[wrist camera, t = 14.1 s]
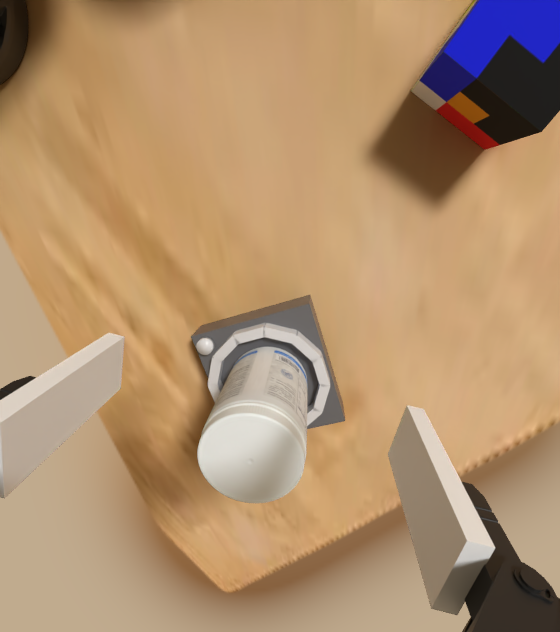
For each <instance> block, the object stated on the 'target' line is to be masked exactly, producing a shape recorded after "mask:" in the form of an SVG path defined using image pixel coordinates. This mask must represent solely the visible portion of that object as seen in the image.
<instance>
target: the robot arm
mask: <svg viewBox="0 0 560 632" xmlns="http://www.w3.org/2000/svg"><path fill="white" fill-rule="evenodd" d="M27 37H28V15H27V7H26V2H25V0H0V84H1V83H3V82H4V81H6V80H7V79H8V78H9V77H10V76H11V75H12V74H13V73H14V71H15V70H16V69H17V67H18V65H19V64H20V62H21V59H22V57H23V54H24V51H25V48H26V43H27ZM123 351H124V336H120V335H116V334H111V333H107V334H106V335H104V336H103V337H101V338H99V339H98V340H96V341H95V342H93V343H91V344H90V345H88V346H86V347H85V348H83V349H82V350H80V351H78V352H77V353H75V354H74V355H72V356H70V357H69V358H67V359H66V360H64V361H62V362H61V363H59V364H58V365H56V366H55V367H53V368H51V369H50V370H48V371H46V372H45V373H43V374H42V375H40V376H38V377H37V378H36V377H32V376H28V377H25V378H22V379H19V380H16V381H13V382H12V383H10V384H8V385H6V386H5V387H3V388H1V389H0V497H1V498H5V497H6V496H7V495H8V494H9V493H10V492H12V491H13V490H14V489H15V488H16V487H17V486H18V485H19V484H20V483H21V482H22V481H23V480H24V479H25V478H26V477H27V476H28V475H30V474H31V473H32V472H33V471H34V470H35V469H36V468H37V467H38V466H39V465H40V464H41V463H42V462H43V461H44V460H45V459H46V458H47V457H48V456H50V455H51V454H52V453H53V452H54V451H55V450H56V449H57V448H58V447H59V446H60V445H61V444H62V443H63V442H65V441H66V440H67V439H68V438H69V437H70V436H71V435H72V434H73V433H74V432H75V431H76V430H77V429H78V428H79V427H80V426H81V425H82V424H83V423H85V422H86V421H87V420H88V419H89V418H90V417H91V416H92V415H93V414H94V413H95V412H96V411H97V410H98V409H99V408H100V407H102V406H103V405H104V404H105V403H106V402H107V401H108V400H109V399H110V398H111V397H112V396H113V395H114V394H115V393H116V392H117V391H118V390H120V389H121V377H122V364H123ZM388 457H389V460H390V464H391V467H392V471H393V474H394V478H395V482H396V485H397V489H398V492H399V496H400V499H401V503H402V506H403V510H404V513H405V517H406V521H407V524H408V528H409V531H410V535H411V538H412V542H413V546H414V549H415V553H416V556H417V560H418V563H419V567H420V570H421V574H422V578H423V581H424V585H425V588H426V592H427V595H428V599H429V602H430V606H431V609H435V610H439V611H443V612H446V613H451V614H455V615H457V614H458V613H459V611H460V609H461V608H462V606H463V604H464V602H466V605H467V607H468V610H469V613H470V615H471V618H470V619H469V621H468V623H467V624H466V626H465V628H464V629H463V631H462V632H560V599H559V598H558V597H557V596H556V594H555V592H554V590H553V588H552V587H551V586H550V584H549V583H548V582H547V581H546V580H545V579H544V577H542V576H541V575H540V574H539V573H538V572H537V571H536V570H534V569H533V568H531V567H529V566H528V565H526V564H525V563H522V562H521V561H520V559H519V557H518V556H517V554H516V552H515V550H514V548H513V547H512V545H511V543H510V541H509V540H508V538H507V536H506V534H505V533H504V531H503V529H502V527H501V526H500V524H498V520H497V519H496V517H495V515H494V513H492V510H491V508H490V506H489V505H488V503H487V501H486V499H485V497H484V496H483V495H482V494H481V493H480V492H479V491H478V490H477V489H476V488H475V487H474V486H473V485H472V484H469V483H465V482H461V480H460V478H459V476H458V474H457V472H456V471H455V469H454V467H453V465H452V463H451V461H450V459H449V457H448V455H447V453H446V451H445V449H444V447H443V445H442V443H441V441H440V440H439V438H438V436H437V434H436V432H435V430H434V428H433V426H432V424H431V422H430V420H429V418H428V416H427V414H426V412H425V411H424V409H421V408H417V407H413V406H409V405H407V406H406V409H405V411H404V414H403V416H402V419H401V422H400V424H399V427H398V429H397V432H396V434H395V437H394V440H393V442H392V445H391V447H390V450H389V453H388Z"/></svg>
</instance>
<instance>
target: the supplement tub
mask: <svg viewBox="0 0 560 632" xmlns="http://www.w3.org/2000/svg"><path fill="white" fill-rule="evenodd" d="M307 391H308V383H307V376H306V372H305V370H304V368H303V366H302V365H301V363H300V362H299V361H298V359H297V358H296V357H294V356H293V355H292V354H290V353H289V352H287V351H285V350H282V349H280V348H276V347H259V348H255V349H253V350H250V351H248V352H246V353H245V354H243V355H242V356H241V357H240V358H239V359H238V360H237V361H236V362H235V364H234V366H233V368H232V369H231V372H230V374H229V376H228V378H227V380H226V382H225V384H224V386H223V388H222V390H221V392H220V394H219V396H218V399H217V401H216V403H215V405H214V407H213V409H212V411H211V413H210V415H209V417H208V419H207V422H206V424H205V426H204V428H203V431H202V434H201V438H200V441H199V444H198V450H197V458H198V464H199V467H200V470H201V472H202V474H203V475H204V477H205V478H206V480H207V481H208V482H209V483H210V484H211V485H212V486H213V487H214V488H215V489H216V490H217V491H219V492H220V493H222V494H223V495H225V496H227V497H229V498H231V499H234V500H237V501H241V502H246V503H265V502H270V501H274V500H276V499H279V498H281V497H283V496H285V495H286V494H288V493H289V492H290V491H291V490H292V489H293V488H294V487H295V486H296V485H297V484H298V482H299V480H300V479H301V476H302V474H303V470H304V463H305V459H306V444H307Z"/></svg>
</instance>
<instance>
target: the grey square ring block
mask: <svg viewBox="0 0 560 632" xmlns="http://www.w3.org/2000/svg"><path fill="white" fill-rule="evenodd" d="M191 338H192V340H193V343H194V345H195V348H196V350H197V352H198V355H199V357H200V360H201V362H202V365H203V367H204V369H205V372H206V374H207V377H208V388H209V390H210V392H211V395H212V397H213V400H214V402H215V403H216V401H217V399H218V396H219V394H220V392H221V390H222V388H223V386H224V384H225V382H226V380H227V378H228V376H229V374H230V372H231V369H232V368H233V366H234V364H235V362H236V361H237V360H238V359H239V358H240V357H241V356H242V355H243V354H245V353H246V352H248V351H250V350H253V349H255V348H259V347H276V348H280V349H282V350H285V351H287V352H289V353H290V354H292V355H293V356H294V357H296V358H297V359H298V361H299V362H300V363H301V365H302V366H303V368H304V370H305V372H306V376H307V383H308V391H307V429H309V428H314V427H319V426H323V425H328V424H333V423H338V422H342V421H345V415H344V407H343V402H342V399H341V395H340V392H339V389H338V385H337V382H336V379H335V376H334V372H333V369H332V366H331V362H330V359H329V356H328V352H327V349H326V346H325V343H324V339H323V336H322V333H321V329H320V326H319V323H318V319H317V316H316V313H315V309H314V306H313V303H312V300H311V296H310V295H308V296H304V297H301V298H297V299H293V300H290V301H286V302H283V303H279V304H276V305H272V306H269V307H265V308H262V309H258V310H255V311H251V312H248V313H244V314H241V315H237V316H234V317H230V318H227V319H223V320H219V321H216V322H212V323H209V324H205V325H202V326H200V327H199V329H198V330H197V331H196V332H195V333H194V334H193V335H192V336H191Z"/></svg>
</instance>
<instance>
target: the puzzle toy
mask: <svg viewBox="0 0 560 632" xmlns="http://www.w3.org/2000/svg"><path fill="white" fill-rule="evenodd" d="M411 92H413V93H414V94H415V95H416V96H418V97H419V98H420V99H421V100H423V101H424V102H425V103H426V104H428V105H429V106H430V107H431V108H433V109H434V110H435V111H437V112H438V113H439V114H440V115H442V116H443V117H444V118H445V119H447V120H448V121H449V122H450V123H452V124H453V125H454V126H455V127H457V128H458V129H459V130H460V131H462V132H463V133H464V134H465V135H467V136H468V137H469V138H471V139H472V140H473V141H474V142H476V143H477V144H478V145H479V146H481V147H482V148H483V149H484V150H485V149H489V148H492V147H495V146H498V145H501V144H504V143H508V142H511V141H514V140H517V139H520V138H523V137H526V136H530V135H533V134H536V133H539V132H542V131H543V129H544V128H545V127H546V126H547V125H548V124H549V122H550V121H551V120H552V119H553V118H554V117H555V115H556V114H557V113H558V112H559V111H560V0H474V1H473V2H472V4H471V5H470V6H469V8H468V9H467V11H466V12H465V14H464V15H463V16H462V18H461V19H460V21H459V22H458V24H457V25H456V26H455V28H454V29H453V31H452V32H451V34H450V35H449V36H448V38H447V39H446V41H445V42H444V44H443V45H442V46H441V48H440V49H439V51H438V52H437V54H436V55H435V56H434V58H433V59H432V61H431V62H430V64H429V65H428V66H427V68H426V69H425V71H424V72H423V74H422V75H421V76H420V78H419V79H418V81H417V82H416V84H415V85H414V86H413V88H412V89H411Z"/></svg>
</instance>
